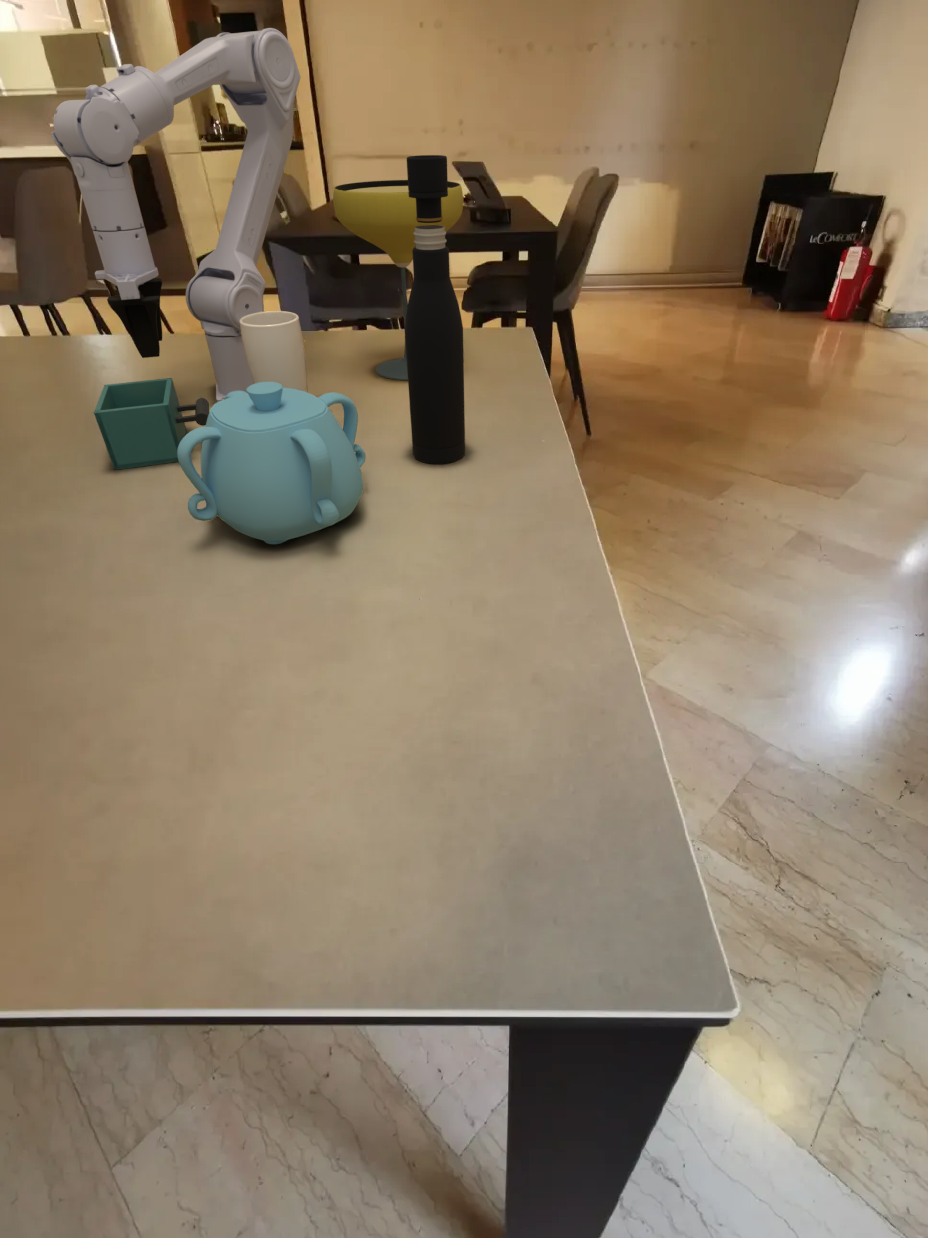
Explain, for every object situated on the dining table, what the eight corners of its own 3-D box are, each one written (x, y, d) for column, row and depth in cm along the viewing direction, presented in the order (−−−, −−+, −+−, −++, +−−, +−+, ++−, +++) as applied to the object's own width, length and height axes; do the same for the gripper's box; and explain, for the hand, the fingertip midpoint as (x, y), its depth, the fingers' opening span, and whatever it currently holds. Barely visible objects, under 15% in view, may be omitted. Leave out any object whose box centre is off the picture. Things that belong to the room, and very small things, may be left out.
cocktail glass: (339, 362, 111) (316, 184, 96) (438, 347, 117) (432, 177, 102) (374, 395, 98) (354, 195, 83) (484, 377, 104) (485, 187, 89)
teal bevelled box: (216, 427, 90) (203, 374, 85) (217, 456, 82) (202, 400, 78) (122, 438, 87) (104, 384, 83) (114, 470, 80) (93, 412, 75)
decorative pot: (178, 548, 65) (133, 412, 57) (252, 475, 78) (224, 355, 69) (335, 565, 62) (312, 424, 54) (386, 486, 75) (373, 362, 66)
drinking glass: (253, 448, 84) (225, 321, 75) (288, 429, 89) (266, 308, 79) (295, 458, 81) (272, 328, 72) (329, 438, 86) (311, 314, 77)
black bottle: (459, 466, 79) (452, 158, 60) (407, 462, 80) (384, 158, 61) (469, 444, 84) (466, 153, 65) (420, 441, 85) (403, 154, 66)
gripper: (89, 222, 83) (124, 337, 91) (72, 238, 72) (114, 367, 80) (149, 219, 85) (178, 332, 93) (142, 235, 74) (175, 361, 82)
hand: (152, 348), depth 87 cm, fingers open, 7 cm apart
